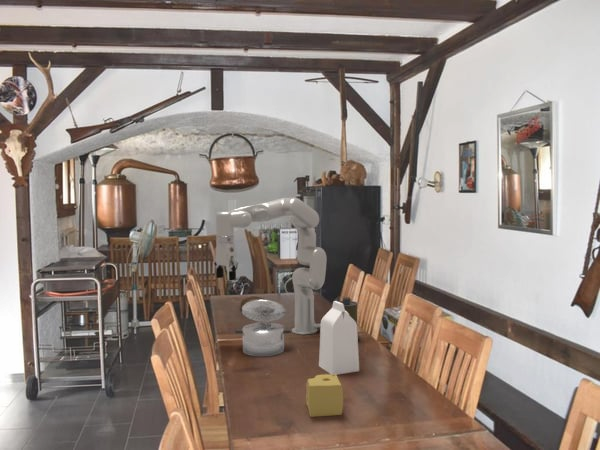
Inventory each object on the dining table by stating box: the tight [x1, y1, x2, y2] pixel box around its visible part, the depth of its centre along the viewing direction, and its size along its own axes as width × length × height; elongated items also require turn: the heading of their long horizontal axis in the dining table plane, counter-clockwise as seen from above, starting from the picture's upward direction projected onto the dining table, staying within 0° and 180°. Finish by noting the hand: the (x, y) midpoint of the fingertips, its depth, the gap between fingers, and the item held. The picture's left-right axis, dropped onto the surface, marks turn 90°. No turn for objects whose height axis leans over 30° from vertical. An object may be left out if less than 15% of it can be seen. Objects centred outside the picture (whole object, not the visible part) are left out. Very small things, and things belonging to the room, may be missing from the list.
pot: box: [235, 322, 292, 357], centre depth 235 cm, size 24×18×10 cm
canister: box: [338, 296, 359, 325], centre depth 249 cm, size 11×10×20 cm
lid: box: [241, 299, 286, 323], centre depth 238 cm, size 19×20×3 cm
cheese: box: [305, 373, 344, 418], centre depth 170 cm, size 10×11×10 cm
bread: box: [240, 295, 266, 310], centre depth 310 cm, size 16×36×8 cm, turn 19°
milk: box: [318, 300, 360, 376], centre depth 210 cm, size 12×12×26 cm
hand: (226, 278), depth 236 cm, fingers open, 9 cm apart
